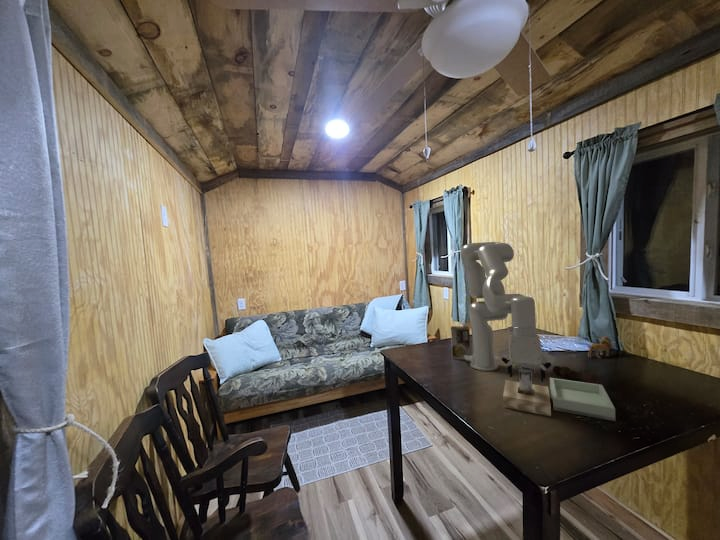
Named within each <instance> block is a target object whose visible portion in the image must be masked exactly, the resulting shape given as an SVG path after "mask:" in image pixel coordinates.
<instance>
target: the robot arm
mask: <svg viewBox="0 0 720 540" xmlns="http://www.w3.org/2000/svg"><path fill="white" fill-rule="evenodd" d="M514 256H515V253H514V249H513V247H512V246H511V245H510V244H509V243H507V242H500V241H489V242H488V241H487V242H472V243H466V244H464V245H463V246H462V247H461V249H460V258H461V259H460V260H461V262H462V265H463V267H464V270H465V272H466V279H467V280H466V281H467V286H468V292H469V296H470V297H471V298H472V299H481V300H482V299H484V300H482V301H481V300H480V301H473V302H472V303H470V304H469V306H468V315H469V320H470V327H471V344H472V345H471V346H472V354H470V355H471V356H468V355H464V359H463V360H465V361H469V366H470V367H471V368H472V369H474V370H478V371H483V372H484V371H485V372H492V371H495V370H497V369H498V368H499V364H498V363H497V362H496V361H495V351H494V350H495V346H494V330H493V328H492V327H491V326H490V324H489V323H488V322H492V321H503V320H505V319H507V317H508V316H509V314H510V317H511V326H507V331H509V332H511V333H510V334H509V339H508V348H506V349H504V350H500V351H499V352H498V356H499V357H500V359H501V361H502V362H503V363H504V364H505V365H506V366H507V375H509V378H513V374H514V373H513V372H514V371H513V363H514V364H528V365H531V366H538V367H540V369H539V370H540V381H541V382H542V383H544V381H545V380H546V378H547V377H546V374H547V373H546V371H547V370H548V369H549V368H550V367H551V366H552V365H553V363H554V362H555V357H554V356H552V355H550V354H549V353H546V352H544V351H542V344H541V339H540V335H538V334H537V322H536V319H537V318H536V303H535V299H534V298H533V297H531V296H525V295H524V294H522V293H506V290H505V286H504V284H503V282H502V280H504V279H505V278H506V277H507V276H508V275H509V268H508V267H507V265H506V263H509V262H511V261H512V260H513V259H514ZM507 354H508V357H509V359H508V358H506V356H505V355H507ZM543 358H544V359H547V361H546V362H545V363H544V362H543ZM544 379H545V380H544Z"/></svg>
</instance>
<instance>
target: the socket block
mask: <svg viewBox="0 0 720 540" xmlns="http://www.w3.org/2000/svg"><path fill="white" fill-rule="evenodd" d="M504 382H505V383H504V388H503V393H502V401H503V402H502V403H503V408H506V409H511V410H517V411H522V412H528V413H533V414H537V415H543V416H547V417H552V410H551V409H552V407H551V406H552V404H551V399H550V391H549V390H550V389H549V386H547V385H546V386H545V385H540V384H533V383H532V391H533V396H532V395H526V394H521V393H520V384H519V381H513V380H507V379H505V381H504Z"/></svg>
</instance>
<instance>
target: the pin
mask: <svg viewBox="0 0 720 540" xmlns="http://www.w3.org/2000/svg"><path fill="white" fill-rule="evenodd" d="M515 369H516V371H517V372H518V377H519V378H518V379H519V381H518V382H519V384H520V393H521V394H526V395H532V396H533V391H532V384H533V373H535V372H536V367H535V366H534V365H529V364H520V363H516V365H515Z"/></svg>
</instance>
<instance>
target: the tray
mask: <svg viewBox="0 0 720 540" xmlns="http://www.w3.org/2000/svg"><path fill="white" fill-rule="evenodd" d="M549 390H550V394H551V400H552V408H553V410H554V411H559V412H563V413H568V414H569V413H570V414H575V415H580V416H586V417H590V418H591V417H592V418H594V419H600V420H607V421H613V422H616V407H615V406H614V404H613V402H612V401H611V399H610V397H609V395H608V393H607V391H606V389H605V387H604V386H603V384H601V383H600V384H599V383H597V384H593V383H585V382H583V381H579V380H569V379H565V378H564V379H563V378H555V377H549Z"/></svg>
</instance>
